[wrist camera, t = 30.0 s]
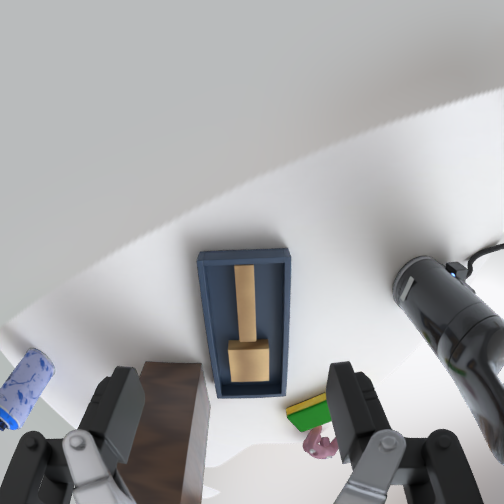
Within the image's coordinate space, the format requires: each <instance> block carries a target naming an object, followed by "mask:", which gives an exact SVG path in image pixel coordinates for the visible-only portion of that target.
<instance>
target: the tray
mask: <svg viewBox="0 0 504 504" xmlns="http://www.w3.org/2000/svg"><path fill="white" fill-rule="evenodd" d="M242 264H254V285H255V313H256V339H268V343H269V381H252V382H232V381H231V373H230V364H229V355H228V343H229V340H239V327H238V313H237V299H236V284H235V269H234V265H242ZM197 268H198V276H199V284H200V292H201V299H202V306H203V314H204V321H205V327H206V334H207V340H208V347H209V353H210V359H211V365H212V371H213V377H214V383H215V388H216V394H217V398H264V397H281V396H286V386H287V368H288V347H289V322H290V288H291V255H290V253H289V250H288V248H276V249H251V250H227V251H203V252H200V253H199V256H198V259H197Z"/></svg>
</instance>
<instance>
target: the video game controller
mask: <svg viewBox="0 0 504 504" xmlns="http://www.w3.org/2000/svg"><path fill="white" fill-rule="evenodd" d="M321 430H322V426H321V425H320V426H317V427H315V428H313V429H312V430H311V431H310V432H309V434H308V436H307V438H306V440H304V442H303V449H304V451H305V452H308V453H309V454H310V455H311V456H313V457H315V458H318V459H328V458H332V456H334V455H335V453H336V452H337V450H338V448H339V447H338V443H337V439H336V437H335V439H334V440H333V441H332V442H331V443H330V441H329V438H328V437H322V438H321V435H320V433H321ZM319 442H320V445H319V444H318V443H319Z"/></svg>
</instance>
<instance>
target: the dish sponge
mask: <svg viewBox="0 0 504 504" xmlns="http://www.w3.org/2000/svg"><path fill="white" fill-rule="evenodd" d="M286 413H287V418H288V419H289V420H290V421H291V422H292V424H293V425H294V426H295V427H296V428H297V429H298V430H299V431H300V432H304V431H307V430H309V429H312V428H315V427H317V426H320V425H323V424H325V423H328V422H330V421H332V420H331V416H330V412H329V408H328V404H327V400H326V392H325V393H323V394H321V395H318V396H316V397H314V398H311V399H309V400H306V401H304V402H301V403H299V404H296V405H294V406H291V407H289V408H287V409H286Z"/></svg>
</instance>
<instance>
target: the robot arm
mask: <svg viewBox="0 0 504 504" xmlns="http://www.w3.org/2000/svg"><path fill="white" fill-rule="evenodd" d="M500 249H504V244H500V245H496V246H493V247H490V248H486V249H484V250H481V251H479V252H477V253H476V254H474V255H473V256H472V257H471V258H470V260H469V261H468V269H467V268H465V267H464V266H463V265H461V264H460V263H459V262H449V263H446V266H444V265H443V264H439V263H438V262H437V261H436V260H435V259H433V258H431V257H428V256H421V257H417V258H415V259H413V260H411V261H410V262H408V263H407V264H406V265H405V266H404V267H403V268H402V269H401V270H400V272H399V273H398V275H397V277H396V279H395V282H394V286H393V297H394V300H395V302H396V303H397V304H398V306H399V307H400V308H401V309H402V310H403V311H404V312H405V314H406V315H407V316H408V318H409V319H410V320H411V322H412V323H413V324H414V326H415V327H416V328H417V330H418V331H419V332H420V334H421V335H422V336H423V338H424V339H425V340H426V342H427V343H428V345H429V346H430V347H431V349H432V350H433V352H434V353H435V354H436V356H437V357H438V359H439V360H440V361H441V363H442V364H443V365H444V367H445V368H446V370H447V371H448V373H449V374H450V376H451V377H452V379H453V380H454V381H455V383H456V385H457V387H458V389H459V391H460V393H461V395H462V397H463V399H464V400H465V402H466V404H467V405H468V407H469V408H470V410H471V412H472V414H473V416H474V418H475V420H476V421H477V423H478V426H479V428H480V430H481V432H482V434H483V436H484V438H485V440H486V442H487V444H488V446H489V448H490V450H491V452H492V453H493V455H494V457H495V458H496V459H497V460H498V461H499V463H501V464H502V465H504V384H502V382H501V381H500V380H499V378H498V377H497V374H498V373H499V371H500V370H501V369H502V367H503V366H504V320H503V319H502V318H501V317H500V316H498V315H497V314H496V313H495V312H494V311H493V310H492V309H491V308H490V307H489V306H488V305H486V304H485V303H484V302H483V301H482V300H481V299H480V298H479V297H478V296H476V295H475V291H474V290H473V289H472V288H471V287H470V286H469V285H467V284H466V283H465V280H466V279H467V278H468V277H469V276H470V275H471V273H472V271H473V267H472V264H473V262H474V261H475V260H476V259H477V258H479V257H480V256H482V255H485V254H488V253H491V252H494V251H498V250H500ZM326 400H327V404H328V408H329V412H330V416H331V420H332V423H333V427H334V431H335V435H336V439H337V443H338V447H339V451H340V455H341V460H342V464H345V463H351V466H352V469H353V472H352V474H351V476H350V478H349V479H348V481H347V483H346V484H345V486H344V488H343V489H342V491H341V492H340V494H339V496H338V497H337V499H336V500H335V502H334V503H333V504H385V501H386V499H387V492H388V489H389V487H390V485H403V487H404V491H405V495H406V499H407V503H408V504H484V503H483V500H482V498H481V495H480V492H479V489H478V486H477V484H476V481H475V478H474V476H473V473H472V471H471V468H470V466H469V463H468V461H467V459H466V456H465V454H464V451H463V449H462V447H461V444H460V442H459V440H458V438H457V436H456V435H455V434H454V433H453V432H451V431H449V430H446V429H439V430H436V431H434V432H432V433H431V434H430V435H429V437H428V438H406V437H403V436H402V435H401V434H400V433H399V432H397V431H395V430H392V429H391V427H390V425H389V422H388V420H387V417H386V415H385V413H384V410H383V408H382V405H381V403H380V401H379V399H378V396H377V394H376V391H375V390H374V387H373V384H372V382H371V380H370V379H369V378H368V377H367V376H366V375H365V374H364V373H363V372H357V373H354V370H353V368H352V365H351V363H350V362H349V361H346V362H338V363H331V365H330V369H329V374H328V380H327V385H326ZM144 404H145V393H144V390H143V387H142V385H141V382H140V379H139V377H138V374H137V372H136V369H135V368H134V367H122V366H117V367H116V368H115V370H114V372H113V374H112V376H111V377H106V378H105V379H103V380H102V381H101V382H100V383H99V384H98V386H97V388H96V390H95V393H94V395H93V397H92V399H91V402H90V403H89V405H88V407H87V409H86V412H85V414H84V416H83V418H82V420H81V423H80V425H79V427H78V429H77V430H73V431H71V432H69V433H68V434H67V435H66V436H65V437H64V438H62V439H45V437H44V436H43V435H42V434H41V433H40V432H37V431H30V432H27V433H25V434H24V435H23V436H22V437H21V439H20V441H19V443H18V445H17V448H16V450H15V452H14V454H13V457H12V459H11V462H10V464H9V466H8V469H7V472H6V474H5V477H4V480H3V482H2V485H1V487H0V504H70V500H71V496H72V493H73V496H74V499H75V501H76V504H137V503H136V502H135V500H134V498H133V496H132V495H131V493H130V491H129V489H128V488H127V486H126V484H125V482H124V480H123V478H122V476H121V474H120V472H119V470H118V469H117V468H116V466H117V463H123V464H127V462H128V458H129V455H130V451H131V448H132V444H133V441H134V437H135V434H136V430H137V427H138V424H139V420H140V417H141V414H142V411H143V407H144ZM43 475H44V476H43ZM42 478H43V479H42ZM41 481H42V482H41ZM40 484H41V485H40ZM74 485H75V488H74ZM38 491H39V492H38Z"/></svg>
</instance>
